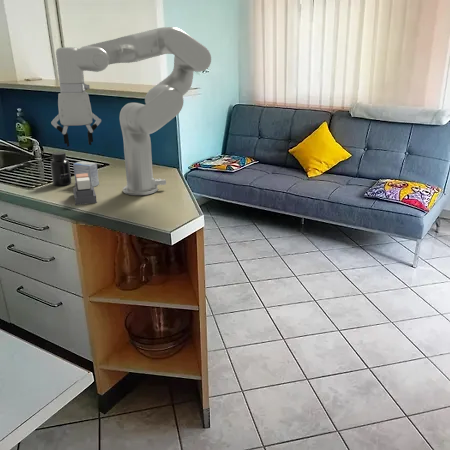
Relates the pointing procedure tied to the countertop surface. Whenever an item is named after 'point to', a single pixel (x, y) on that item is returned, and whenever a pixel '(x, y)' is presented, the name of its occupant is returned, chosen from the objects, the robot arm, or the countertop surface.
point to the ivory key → (83, 183)
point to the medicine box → (87, 171)
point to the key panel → (84, 195)
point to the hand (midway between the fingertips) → (79, 144)
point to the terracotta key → (81, 175)
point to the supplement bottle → (60, 169)
